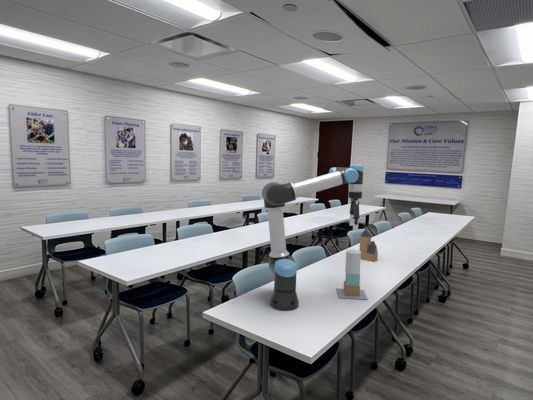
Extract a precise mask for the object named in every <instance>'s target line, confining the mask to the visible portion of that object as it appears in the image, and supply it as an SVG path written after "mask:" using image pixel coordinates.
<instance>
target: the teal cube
mask: <svg viewBox="0 0 533 400" xmlns="http://www.w3.org/2000/svg"><path fill="white" fill-rule="evenodd" d="M344 281H346V284H347V285H349V286H360V287H361V285H360V284H361V272H360V273H359V274H349V273H346V272H345V279H344Z"/></svg>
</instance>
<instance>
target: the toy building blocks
mask: <svg viewBox="0 0 533 400" xmlns="http://www.w3.org/2000/svg"><path fill="white" fill-rule="evenodd" d="M358 251H360V252H361V261H366V262H370V261H371V262H372V263H376V262H377V261H378V255H379V254H378V253H379V252H378V246H377V244H376V242H375V241H374V240H373V241H372V235H371V234H370V231H369V230H368V229H367V228H365V229H364V230H363V232H362V233H361V234H360V236H359V250H358ZM375 261H376V262H375Z"/></svg>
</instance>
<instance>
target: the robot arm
mask: <svg viewBox="0 0 533 400" xmlns="http://www.w3.org/2000/svg"><path fill="white" fill-rule="evenodd" d="M363 181H364V165H363V164H358V163H357V164H354V163H351V164H350V165H349V167H331V168H330V169H329V171H328V173H326V174H322V175H319V176H316V177H313V178H309V179H305V180H301V181H298V182H294V183H292V182H286V183H278V182H273V181H272V182H269V183H267V184H265V185H264V186H263V188H262V192H261V197H262V198H263V206H264V209H265V210H266V211H267V220H268V229H269V230H268V231H269V241H270V252H269V254H268V257H269V258H268V260H269V261H268V269H269V271H270V272H271V274H272V275H273V281H274V282H273V283H274V284H273V292H272V294H271V295H272V296H271V297H270V306H271V308H273V309H275V310H279V311H292V310H296V309H297V308H299V306H300V305H299V302H300V301H299V297H298V294H297V272H298V268H297V263H296V262H295V261H294V260H291V259H290V252H289V251H288V250H287V244H286V242H287V241H286V231H285V229H286V228H285V218H284V208H286V204H288V203H291V202H294V201H296V200H297V198H300V197H304V196H307V195H311V194H314V193H318V192H322V191H324V190H327V189H330V188H331V189H332V188H334V187H338V186H342V185H346V184H348V199H350V207H349V226H350V227H351V226H352V231H359V219H360V200H361V199H362V198H363V192H362V191H363V188H364V185H363V184H364V183H363ZM359 199H360V200H359Z"/></svg>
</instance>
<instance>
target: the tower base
mask: <svg viewBox="0 0 533 400" xmlns="http://www.w3.org/2000/svg"><path fill="white" fill-rule="evenodd" d="M335 290H336V294H337V297H338V299H342V300H343V299H345V300H356V301H357V300H360V301H368V300H369V299H368V297H367V295H366V293H365V290H364V289H361V285H360V286H349V285H347V284H346V281H345V280H344V281H343V288H337V287H336V288H335Z"/></svg>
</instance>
